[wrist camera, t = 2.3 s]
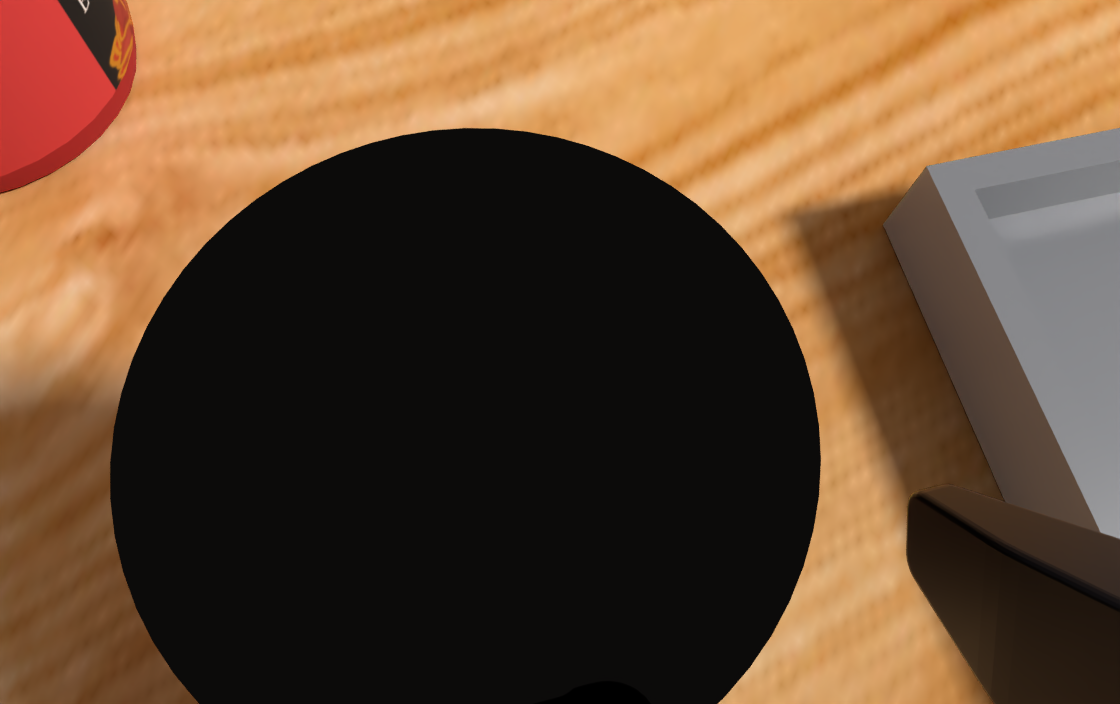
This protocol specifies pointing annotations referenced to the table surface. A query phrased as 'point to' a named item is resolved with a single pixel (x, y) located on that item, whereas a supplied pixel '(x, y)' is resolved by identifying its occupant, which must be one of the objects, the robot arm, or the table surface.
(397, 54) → the table surface
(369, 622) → the supplement container
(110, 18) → the canned food
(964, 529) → the robot arm
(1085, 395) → the tray
